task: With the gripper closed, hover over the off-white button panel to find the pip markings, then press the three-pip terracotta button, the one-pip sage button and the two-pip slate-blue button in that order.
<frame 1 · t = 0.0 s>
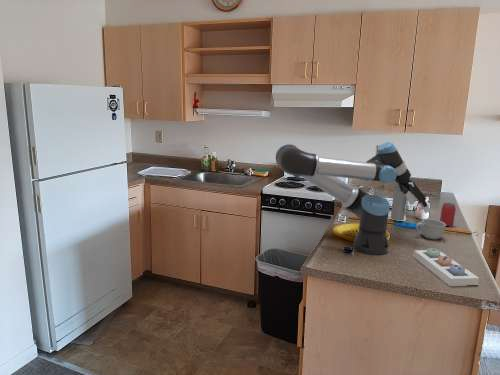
hand: (420, 207, 186), 15 cm above the worktop, tool tilted 35°, fingers open, 13 cm apart
two pip button: (456, 270, 145), point 4 cm above the worktop, slide at 0.0 cm
button panel: (443, 270, 153), on the worktop
three pip button: (444, 261, 153), point 4 cm above the worktop, slide at 0.0 cm
water bottle: (398, 221, 214), on the worktop
teacup: (428, 237, 190), on the worktop
one pip button: (433, 253, 160), point 4 cm above the worktop, slide at 0.0 cm
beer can: (446, 225, 208), on the worktop
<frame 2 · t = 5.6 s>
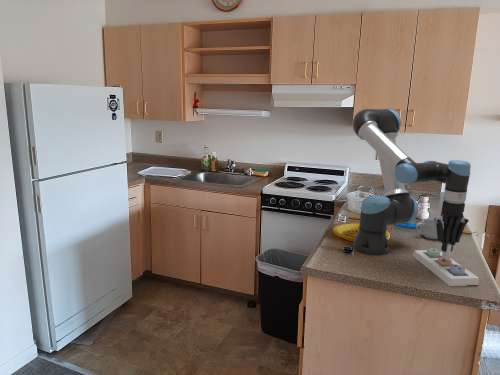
hand: (445, 258, 152), 5 cm above the worktop, tool pointing down, fingers closed
three pip button: (444, 262, 153), point 3 cm above the worktop, slide at 0.5 cm, touching gripper
everything else where it was.
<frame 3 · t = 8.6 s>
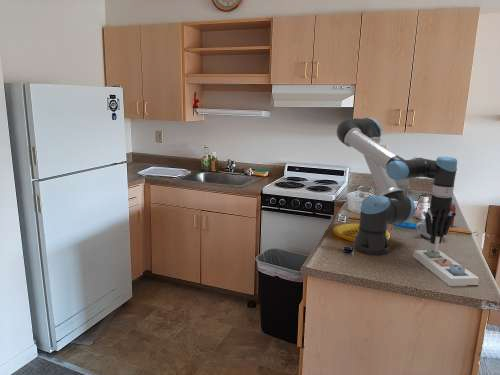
hand: (434, 250, 160), 5 cm above the worktop, tool pointing down, fingers closed
three pip button: (444, 264, 153), point 2 cm above the worktop, slide at 1.2 cm
one pip button: (433, 254, 160), point 3 cm above the worktop, slide at 0.5 cm, touching gripper
everything else where it was.
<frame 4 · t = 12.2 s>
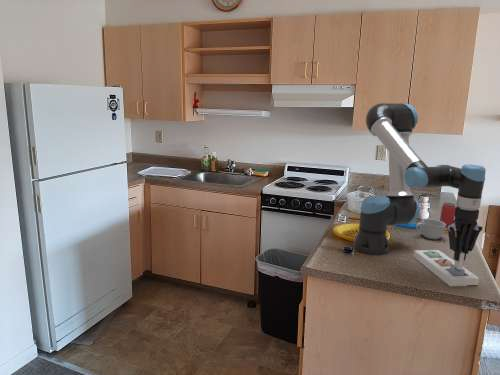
hand: (457, 268, 144), 5 cm above the worktop, tool pointing down, fingers closed
two pip button: (456, 272, 145), point 3 cm above the worktop, slide at 0.7 cm, touching gripper
one pip button: (432, 256, 161), point 2 cm above the worktop, slide at 1.2 cm
everything else where it was.
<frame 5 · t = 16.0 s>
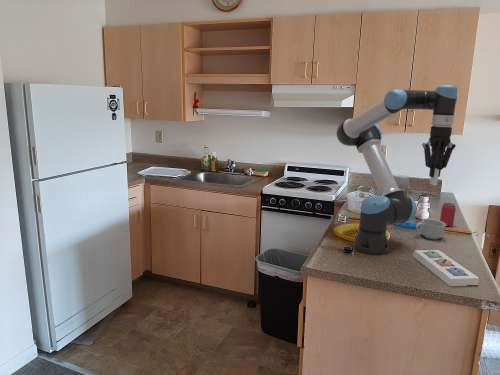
hand: (433, 184, 156), 32 cm above the worktop, tool pointing down, fingers closed
two pip button: (456, 273, 145), point 2 cm above the worktop, slide at 1.2 cm
everything else where it was.
at the end: three pip button slide at 1.2 cm; one pip button slide at 1.2 cm; two pip button slide at 1.2 cm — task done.
